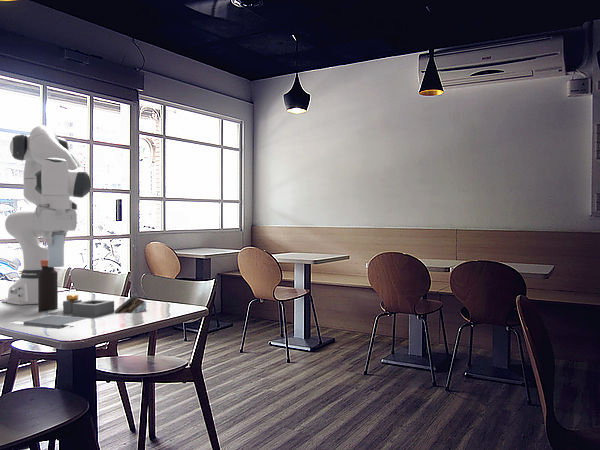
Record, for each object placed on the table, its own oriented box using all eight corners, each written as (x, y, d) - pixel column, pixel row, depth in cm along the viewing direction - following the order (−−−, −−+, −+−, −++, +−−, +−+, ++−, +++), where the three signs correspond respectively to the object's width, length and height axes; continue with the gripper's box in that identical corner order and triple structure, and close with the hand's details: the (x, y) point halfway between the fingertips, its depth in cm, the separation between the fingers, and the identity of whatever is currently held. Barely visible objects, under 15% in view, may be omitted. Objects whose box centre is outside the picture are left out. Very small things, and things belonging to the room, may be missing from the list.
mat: (23, 324, 175) (23, 321, 175) (51, 318, 186) (51, 315, 186) (60, 328, 169) (60, 325, 169) (86, 321, 180) (86, 318, 180)
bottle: (35, 313, 195) (35, 260, 195) (41, 310, 202) (41, 259, 202) (55, 312, 197) (54, 260, 196) (59, 309, 203) (59, 259, 203)
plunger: (64, 310, 193) (64, 296, 193) (72, 308, 197) (72, 294, 196) (72, 311, 191) (72, 296, 191) (80, 309, 195) (80, 295, 195)
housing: (45, 316, 188) (45, 303, 188) (77, 309, 203) (77, 297, 203) (93, 321, 181) (93, 307, 181) (123, 313, 196) (123, 300, 196)
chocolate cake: (127, 319, 188) (147, 293, 194) (113, 312, 190) (133, 287, 197) (136, 332, 195) (155, 307, 201) (122, 325, 197) (141, 300, 204)
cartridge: (45, 266, 178) (45, 231, 177) (61, 265, 181) (61, 231, 181) (49, 267, 174) (49, 232, 173) (66, 266, 177) (65, 231, 177)
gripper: (45, 203, 166) (45, 246, 167) (80, 205, 187) (80, 243, 187) (27, 203, 167) (27, 246, 167) (63, 205, 187) (63, 243, 188)
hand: (55, 244), depth 177 cm, fingers closed on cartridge, 5 cm apart
